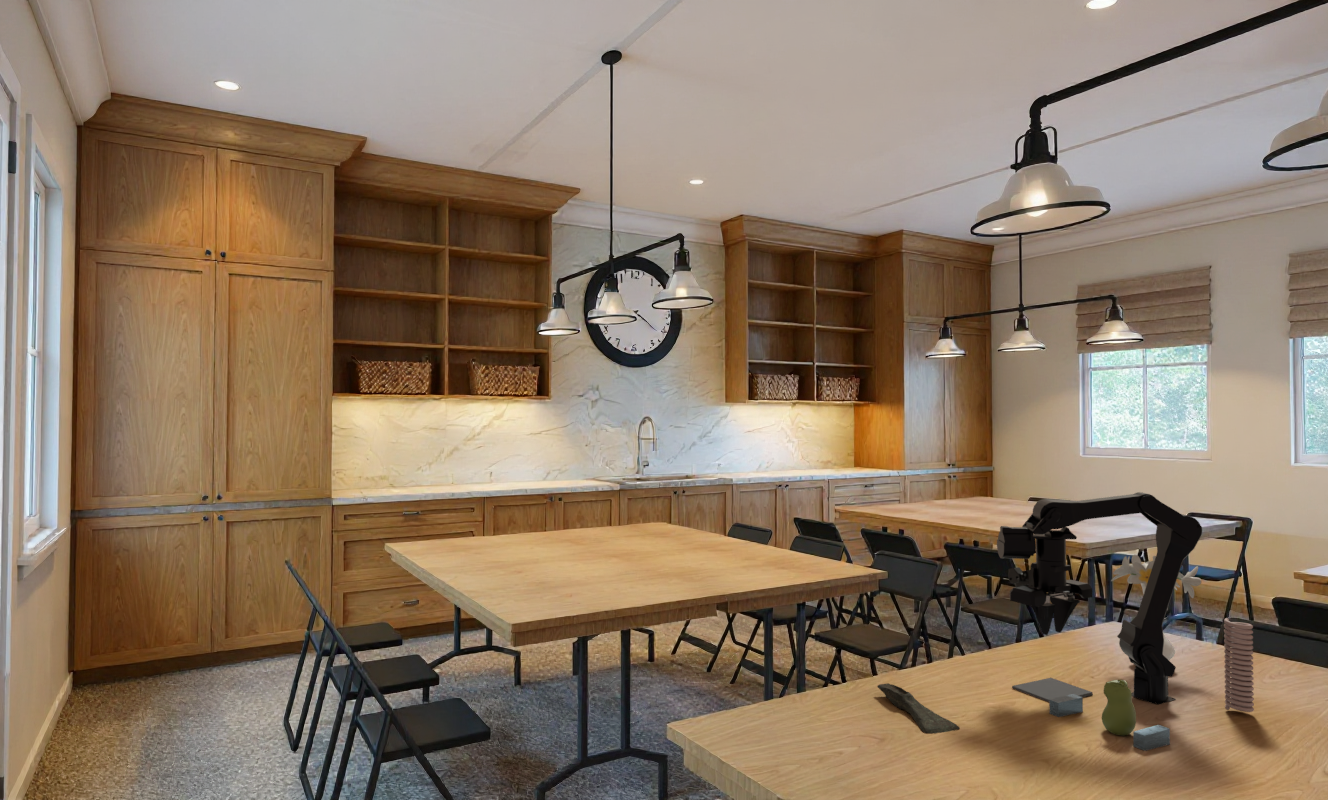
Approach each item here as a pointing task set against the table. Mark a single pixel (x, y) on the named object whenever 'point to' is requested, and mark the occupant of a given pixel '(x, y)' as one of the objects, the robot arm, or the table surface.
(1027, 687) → the mat
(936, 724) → the tool
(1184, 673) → the table surface
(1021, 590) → the robot arm
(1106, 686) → the pear
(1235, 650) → the coil
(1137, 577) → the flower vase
